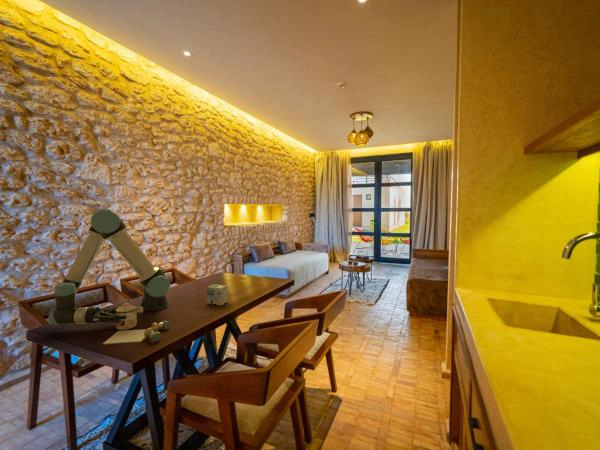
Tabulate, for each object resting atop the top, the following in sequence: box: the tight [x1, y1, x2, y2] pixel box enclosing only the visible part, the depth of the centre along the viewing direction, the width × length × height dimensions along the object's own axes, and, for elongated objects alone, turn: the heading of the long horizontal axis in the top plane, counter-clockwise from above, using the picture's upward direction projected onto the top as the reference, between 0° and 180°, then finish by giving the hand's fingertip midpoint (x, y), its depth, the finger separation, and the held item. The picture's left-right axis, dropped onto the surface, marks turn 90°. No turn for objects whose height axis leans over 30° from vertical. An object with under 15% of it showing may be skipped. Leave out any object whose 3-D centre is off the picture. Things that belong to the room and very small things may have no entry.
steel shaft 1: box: [144, 327, 161, 344], centre depth 123 cm, size 7×4×5 cm, turn 54°
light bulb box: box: [206, 284, 228, 306], centre depth 175 cm, size 11×7×11 cm, turn 71°
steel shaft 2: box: [150, 319, 170, 332], centre depth 134 cm, size 7×4×5 cm, turn 144°
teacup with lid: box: [115, 302, 138, 331], centre depth 137 cm, size 12×9×12 cm
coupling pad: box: [102, 328, 147, 345], centre depth 127 cm, size 13×15×1 cm
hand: (138, 312), depth 138 cm, fingers closed on teacup with lid, 9 cm apart
